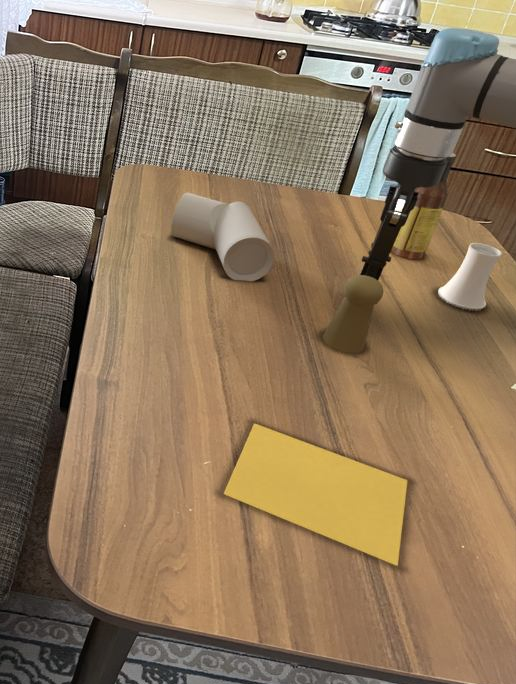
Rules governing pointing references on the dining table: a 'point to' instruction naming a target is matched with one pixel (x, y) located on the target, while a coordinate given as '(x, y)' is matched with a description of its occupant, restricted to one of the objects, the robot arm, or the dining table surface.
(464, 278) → the vase
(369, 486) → the yellow cloth
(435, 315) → the dining table surface
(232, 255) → the bent grey cylinder
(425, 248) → the sauce bottle
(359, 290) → the cork
